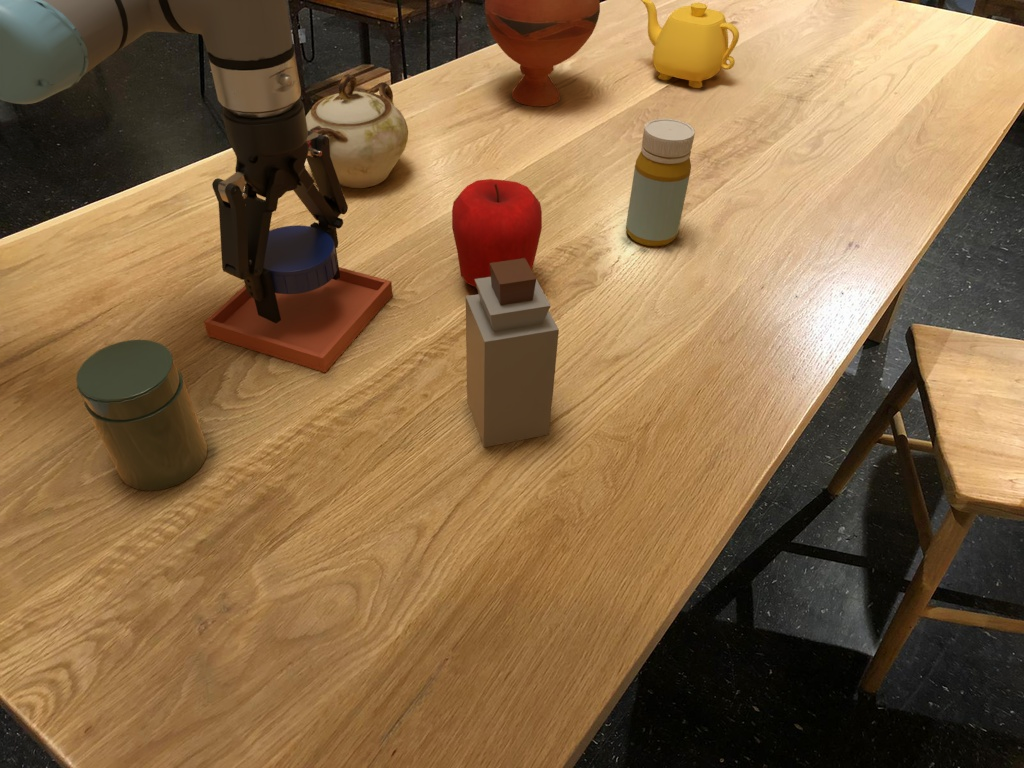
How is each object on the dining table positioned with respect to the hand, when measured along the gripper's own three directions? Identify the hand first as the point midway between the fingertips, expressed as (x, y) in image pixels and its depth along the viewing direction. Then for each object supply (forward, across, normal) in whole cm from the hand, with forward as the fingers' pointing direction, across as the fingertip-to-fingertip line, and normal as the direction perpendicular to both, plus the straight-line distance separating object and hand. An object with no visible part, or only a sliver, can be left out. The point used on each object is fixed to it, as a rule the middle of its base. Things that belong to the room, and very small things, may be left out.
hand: (300, 295), depth 87 cm
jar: (+3, -24, -4) cm, 24 cm away
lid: (-6, 0, 0) cm, 6 cm away
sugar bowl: (+3, +30, +16) cm, 34 cm away
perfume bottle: (+3, -1, -28) cm, 29 cm away
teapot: (+3, +95, -8) cm, 95 cm away
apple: (+3, +18, -15) cm, 24 cm away
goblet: (+3, +69, +9) cm, 70 cm away
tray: (+3, 0, 0) cm, 3 cm away
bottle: (+3, +39, -26) cm, 47 cm away
